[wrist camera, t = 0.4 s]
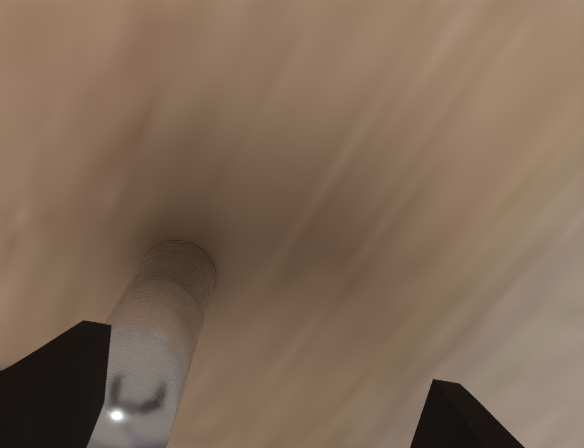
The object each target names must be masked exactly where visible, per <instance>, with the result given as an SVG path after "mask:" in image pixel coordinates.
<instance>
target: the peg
mask: <svg viewBox="0 0 584 448" xmlns="http://www.w3.org/2000/svg"><path fill="white" fill-rule="evenodd" d="M215 279H216V274H215V268H214V265H213V263H212V261H211V259H210V258H209V256H208V255H207V254H206V253H205V252H204V251H203V250H202V249H201V248H199V247H198V246H196V245H194V244H192V243H189V242H185V241H178V240H176V241H167V242H163V243H161V244H159V245H157V246H155V247H154V248H153V249H151V250H150V251H149V253H148V254H147V255H146V257H145V258H144V260H143V262H142V263H141V265H140V267H139V268H138V270H137V271H136V273H135V275H134V276H133V278H132V280H131V281H130V283H129V284H128V286H127V288H126V289H125V291H124V292H123V294H122V296H121V297H120V299H119V301H118V302H117V304H116V305H115V307H114V309H113V310H112V312H111V314H110V315H109V317H108V318H107V320H106V322H105V323H104V324H108V325H112V327H111V338H110V348H109V359H108V370H107V380H106V391H105V402H104V405H103V407H102V410H101V413H100V415H99V418H98V420H97V423H96V426H95V428H94V431H93V433H92V436H91V438H90V441H89V443H88V445H87V447H86V448H166V446H167V444H168V440H169V437H170V434H171V430H172V427H173V423H174V420H175V417H176V413H177V410H178V406H179V403H180V400H181V396H182V393H183V390H184V386H185V383H186V379H187V376H188V373H189V369H190V366H191V362H192V359H193V356H194V352H195V349H196V346H197V342H198V339H199V335H200V332H201V329H202V325H203V322H204V318H205V315H206V312H207V308H208V305H209V302H210V298H211V295H212V291H213V288H214V285H215Z"/></svg>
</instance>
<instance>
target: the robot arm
mask: <svg viewBox="0 0 584 448" xmlns="http://www.w3.org/2000/svg"><path fill="white" fill-rule="evenodd" d="M111 327H112V325H108V324H102V323H96V322H90V321H84V320H83V321H82V322H80V323H78V324H77V325H75V326H74V327H72V328H70V329H69V330H67V331H66V332H64V333H63V334H61V335H59V336H58V337H56V338H55V339H53V340H52V341H50V342H49V343H47V344H46V345H44V346H42V347H41V348H39V349H38V350H36V351H35V352H33V353H31V354H30V355H28V356H26V357H25V358H23V359H21V360H20V361H18V362H17V363H15V364H13V365H12V366H10V367H8V368H6V369H4V370H3V371H1V372H0V448H86V447H87V445H88V443H89V441H90V438H91V436H92V433H93V431H94V428H95V426H96V423H97V420H98V418H99V415H100V413H101V410H102V407H103V405H104V402H105V391H106V380H107V370H108V359H109V348H110V338H111ZM410 448H525V447H524V446H522V445H521V444H520V443H519V442H518V441H517V440H516V439H515V438H514V437H513V436H512V435H511V434H510V433H509V432H508V431H507V430H506V429H505V428H504V427H503V426H502V425H501V424H500V423H499V422H498V421H497V420H496V419H495V418H494V417H493V416H492V415H491V414H490V413H489V412H488V411H487V409H486V408H485V407H484V406H483V405H482V404H481V403H480V402H479V401H478V400H477V399H476V398H475V397H473V396H472V395H471V394H470V393H469V392H468V391H467V390H466V389H465V388H464V387H463V386H462V385H460V384H459V383H453V382H447V381H441V380H435V379H433V381H432V384H431V387H430V390H429V393H428V396H427V399H426V402H425V405H424V408H423V411H422V414H421V417H420V420H419V423H418V426H417V429H416V432H415V435H414V438H413V441H412V444H411V447H410Z"/></svg>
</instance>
